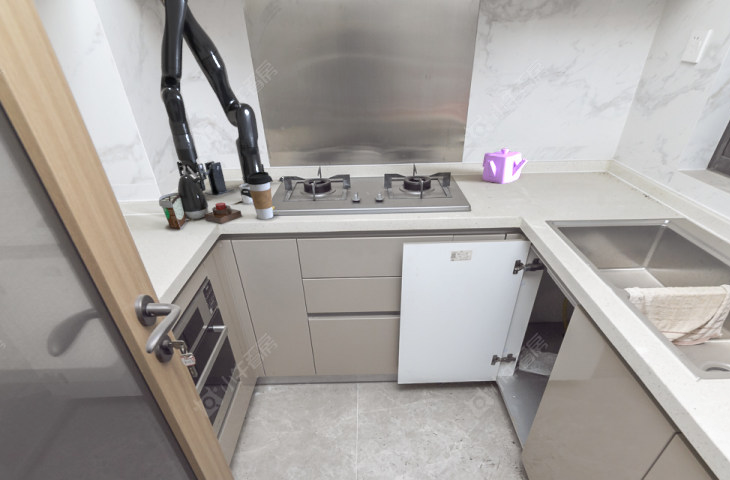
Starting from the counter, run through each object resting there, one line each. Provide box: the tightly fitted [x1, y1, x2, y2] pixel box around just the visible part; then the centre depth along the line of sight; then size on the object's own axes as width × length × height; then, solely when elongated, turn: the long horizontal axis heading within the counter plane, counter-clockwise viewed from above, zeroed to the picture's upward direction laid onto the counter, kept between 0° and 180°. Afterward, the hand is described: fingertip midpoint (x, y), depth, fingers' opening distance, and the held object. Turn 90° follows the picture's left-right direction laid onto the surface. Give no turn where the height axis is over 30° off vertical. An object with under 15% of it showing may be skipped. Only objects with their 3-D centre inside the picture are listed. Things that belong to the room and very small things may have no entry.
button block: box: [204, 204, 243, 225], centre depth 159 cm, size 10×9×4 cm
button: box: [214, 202, 227, 209], centre depth 157 cm, size 4×4×2 cm
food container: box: [158, 191, 189, 230], centre depth 153 cm, size 12×6×10 cm, turn 4°
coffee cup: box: [247, 171, 274, 220], centre depth 155 cm, size 8×8×15 cm
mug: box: [238, 183, 254, 206], centre depth 174 cm, size 10×7×7 cm, turn 87°
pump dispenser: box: [177, 175, 209, 220], centre depth 158 cm, size 10×10×15 cm
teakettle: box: [482, 148, 528, 184], centre depth 187 cm, size 17×17×12 cm
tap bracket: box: [204, 160, 235, 197], centre depth 184 cm, size 10×8×13 cm
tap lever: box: [197, 163, 213, 184], centre depth 179 cm, size 14×5×2 cm, turn 147°
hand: (196, 189), depth 178 cm, fingers open, 8 cm apart
